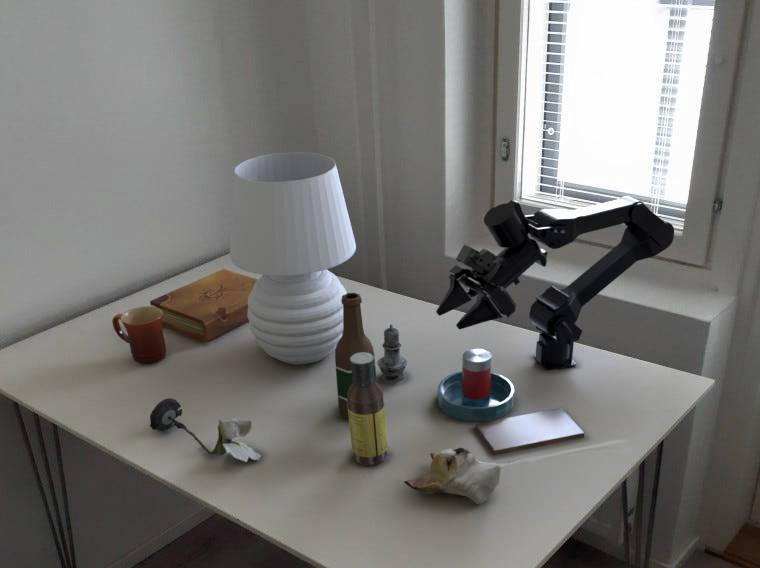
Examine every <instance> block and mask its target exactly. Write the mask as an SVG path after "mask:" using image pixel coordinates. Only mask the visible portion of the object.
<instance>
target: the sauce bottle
mask: <svg viewBox="0 0 760 568" xmlns="http://www.w3.org/2000/svg"><path fill="white" fill-rule="evenodd" d="M374 357H375V355H374V356H373V355H372V354H370V353H366V352H361V353H356V354H354V355H352V356H351V357H350V367H351V369H352V384H351V386H350V388H349V390H348V393H347V399H348V401H347V405H348V415H349V420H348V425H349V436H350V444H351V451H352V457H353V459H354V461H355V462H357V463H358V464H360V465H362V466H367V467H370V466H375V465H380V464H381V463H383V462H384V461H385V460H386V458H387V456H388V438H387V437H388V436H387V424H386V423H387V422H386V409H385V402H384V392H383V390H382V387H381V386H380V385H379V384H378V382H377V380H376V381H375V375H374V365H375V366H376V361H375V362H374Z"/></svg>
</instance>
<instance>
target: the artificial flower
mask: <svg viewBox="0 0 760 568" xmlns="http://www.w3.org/2000/svg"><path fill="white" fill-rule="evenodd" d="M181 407H182V405H181V403H179V402H178V400H176V399H175V398H172V397H171V398H165V399H162V400H161V401H160V402H158V403H157V404H156V405H155V407H154V408H153V410H151V413H150V415H149V423H150V424H149V427H150V428H151V429H152V431H154V430H155V431H158V432H162V433H163V432H166V430H167V429H170V428H171V427H172V426H175V427H176V428H177V429H179V430H180V429H182V430H184V431H185V432H186V433H187V434H189V436H191V437H192V438H193V439H194V440H195V441H196V442H197V443H198V444H199V446H201V448H202V449H203V450H204V451H205V452H206V454H208V455H209V456H214V455H216V456H217V455H219V456H221V455H224V454H226V453H227V454H229V455H231V456H232V457H233V458H235V459H237V460H240V461H242V462H244V463H248V461H249V459H251V460H253V461H260V458H261V454H260V453H259V452H256V451H255V450H253V448H252V447H251V446H249V445H248V446H247V445H246V444H245V443H244V442H240V441H238V440H233V439H235V438H240V437H241V438H244V437H245V436H247V435H248V434H249V433H250V431H251V429H253V421H251V420H245V419H244V420H243V419H240V418H236V417H232V418H231V419H230V420H229V421H224V420H220V419H218V425H217V431H218V433H217V435H218V437H217V442H216V444H215V446H214V449H213V450H212V451H210V450H209V449H208V448H207V447H206V446H205V444H204V443H203V442H202V441H201V440H200V439H199V438H198V437H197V436H196V434H195V433H194V432H193V431H190V430H189V429H188V427H187V426H186V425H185V424H184V423H183V422H180V421H178V420H177V418H178V417H182V414H183V409H182V408H181Z"/></svg>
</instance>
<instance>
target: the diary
mask: <svg viewBox="0 0 760 568" xmlns="http://www.w3.org/2000/svg"><path fill="white" fill-rule="evenodd" d="M258 279H259V278H258ZM258 279H257V278H254V277H251V276H248V275H244V274H241V273H239V272H235V271H232V270H229V269H225V268H222V269H220V270H218V271H215V272H213V273H211V274H209V275H206V276H204V277H202V278H199V279H197V280H195V281H193V282H190V283H188V284H186V285H184V286H181V287H178V288H176V289H174V290H172V291H170V292H167V293H165V294H163V295H161V296H159V297H156V298H154V299H151V300H150V301H149V303H150V306H152V307H157V308H159V309H161V310H162V311H163V317H162V328H166V329H168V330H171V331H173V332H176V333H178V334H181V335H183V336H186V337H188V338H191V339H193V340H196V341H199V342H202V343H204V344H207V343H209V342H211V341H213V340H215V339H217V338H219V337H221V336H223V335H225V334H227V333H229V332H231V331H233V330H235V329H237V328H238V327H239V328H240V327H241V326H243V325H245V324H247V323H249V319H248V316H247V313H248V297H249V295H250V293H251V291H252V290H253V287H254V285H255V282H256V281H257V280H258Z"/></svg>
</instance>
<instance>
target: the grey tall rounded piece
mask: <svg viewBox="0 0 760 568" xmlns="http://www.w3.org/2000/svg"><path fill="white" fill-rule="evenodd" d="M383 340H384V342H383V344H382V348H383V351H384V354H383V356H382V357H381V358H379V359H378V361H377V366H378V368H379V370H380V372H381V373H382V374H381V380H382V381H383V382H385V383H389V384H390V383H391V384H392V383H398V382H401V381H403V380H404V379H405V374H404V371H405V369H406V366H407V365H408V360H407V359H406V358H405V357H404V356H401V352H400V351H401V350H400V349H401V347H402V344H401V343H400V333H399V330H398V329H397V328H396V327H394V325H392V324H390V325H389V326H388V328H385V329H384V332H383Z"/></svg>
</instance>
